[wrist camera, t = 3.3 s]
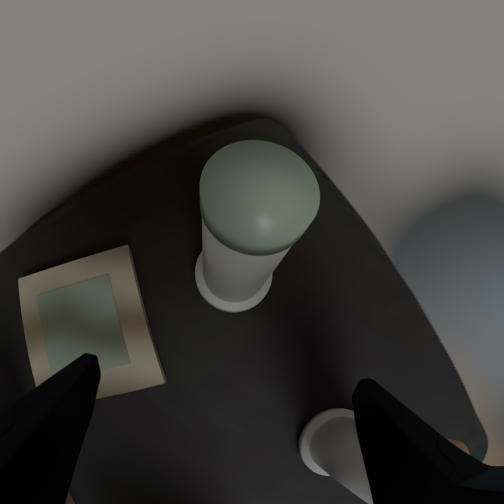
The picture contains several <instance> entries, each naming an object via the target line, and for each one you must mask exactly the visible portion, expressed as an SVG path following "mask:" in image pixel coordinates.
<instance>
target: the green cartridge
mask: <svg viewBox="0 0 504 504" xmlns="http://www.w3.org/2000/svg"><path fill="white" fill-rule="evenodd" d="M319 203H320V191H319V186H318V183H317V180H316V178H315V175H314V174H313V172H312V170H311V169H310V167H309V166H308V165H307V164H306V163H305V162H304V160H303V159H302V158H300V157H299V156H298V155H297V154H295V153H294V152H292V151H291V150H289V149H287V148H285V147H283V146H281V145H278V144H275V143H272V142H267V141H261V140H246V141H240V142H235V143H232V144H230V145H227V146H225V147H223V148H222V149H220V150H219V151H217V152H216V153H215V154H214V155H213V156H212V157H211V158H210V159H209V160H208V161H207V163H206V165H205V166H204V169H203V171H202V174H201V178H200V211H201V215H202V252H201V253H200V255H199V257H198V259H197V262H196V267H195V278H196V284H197V287H198V290H199V292H200V294H201V296H202V297H203V298H204V299H205V301H206V302H207V303H209V304H210V305H211V306H213V307H214V308H216V309H218V310H221V311H224V312H230V313H237V312H243V311H246V310H249V309H251V308H253V307H254V306H256V305H257V304H258V303H259V302H260V301H261V300H262V299H263V298H264V297H265V295H266V294H267V292H268V290H269V288H270V286H271V282H272V272H273V271H274V270H275V268H276V267H277V266H278V264H279V263H280V261H281V260H282V259H283V257H284V256H285V254H286V253H287V252H288V250H289V249H290V247H291V246H292V245H293V244H295V243H296V242H297V241H298V240H299V239H300V237H301V236H302V234H303V233H304V232H305V230H306V229H307V228H308V226H309V225H310V223H311V222H312V221H313V219H314V218H315V216H316V214H317V211H318V208H319Z"/></svg>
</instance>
